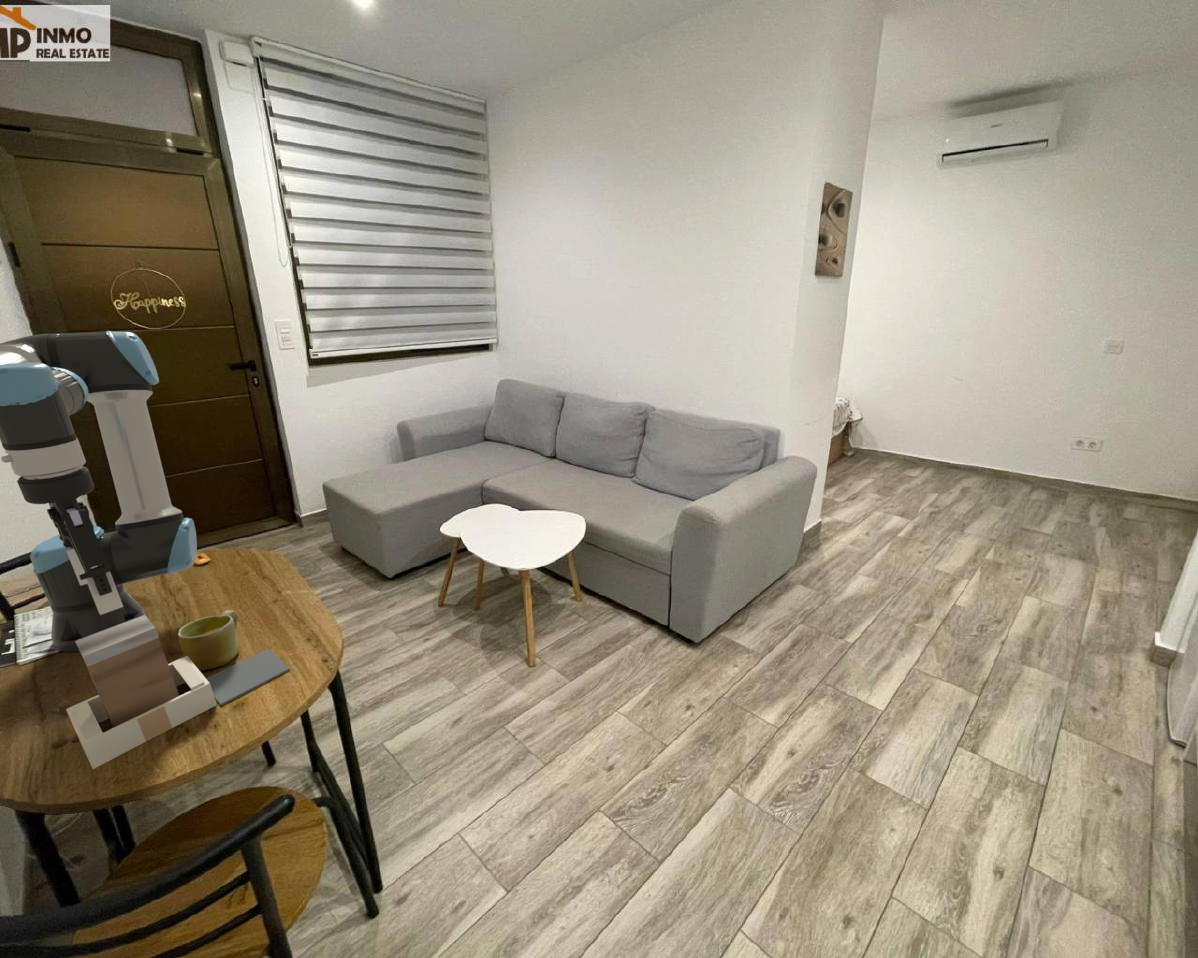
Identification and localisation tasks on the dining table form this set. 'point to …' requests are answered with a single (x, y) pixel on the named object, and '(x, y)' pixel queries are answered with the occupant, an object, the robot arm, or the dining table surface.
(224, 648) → the mug
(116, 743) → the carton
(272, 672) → the mat
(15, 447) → the robot arm
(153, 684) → the walnut box
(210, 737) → the dining table surface
